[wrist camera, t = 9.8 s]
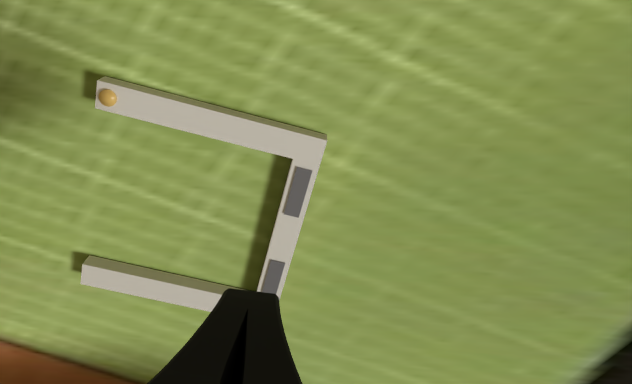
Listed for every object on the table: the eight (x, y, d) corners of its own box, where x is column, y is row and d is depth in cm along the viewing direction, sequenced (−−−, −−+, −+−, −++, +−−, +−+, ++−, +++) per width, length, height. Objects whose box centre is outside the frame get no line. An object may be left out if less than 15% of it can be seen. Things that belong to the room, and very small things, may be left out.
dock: (272, 314, 25) (271, 326, 25) (87, 274, 24) (79, 285, 24) (326, 134, 21) (327, 141, 20) (105, 75, 20) (95, 80, 19)
